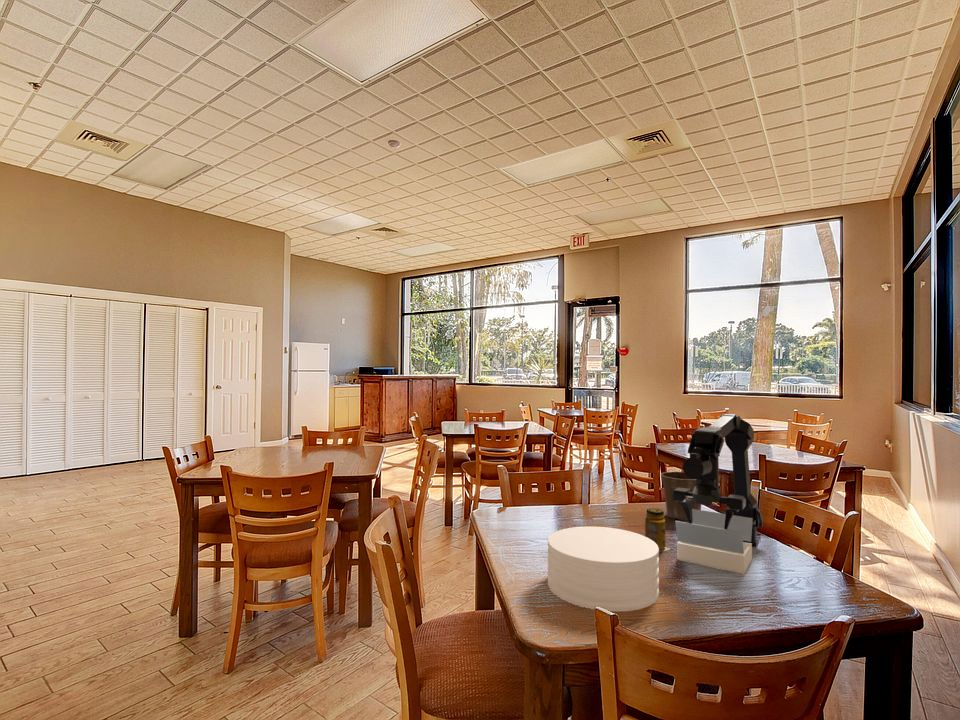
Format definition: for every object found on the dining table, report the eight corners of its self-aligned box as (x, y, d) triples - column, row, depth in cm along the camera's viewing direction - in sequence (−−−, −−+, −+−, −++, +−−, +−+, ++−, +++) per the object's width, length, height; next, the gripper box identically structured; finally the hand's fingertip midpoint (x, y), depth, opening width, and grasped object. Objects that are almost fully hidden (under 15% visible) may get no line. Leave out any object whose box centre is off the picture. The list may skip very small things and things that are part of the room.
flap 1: (743, 553, 141) (743, 553, 141) (678, 540, 152) (677, 541, 151) (741, 531, 139) (741, 532, 139) (675, 520, 150) (675, 521, 149)
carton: (688, 547, 162) (688, 532, 162) (751, 560, 151) (751, 543, 151) (677, 559, 151) (677, 542, 151) (744, 574, 141) (744, 556, 141)
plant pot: (652, 512, 204) (652, 471, 204) (689, 510, 207) (689, 470, 207) (675, 524, 188) (675, 480, 188) (714, 521, 191) (714, 478, 191)
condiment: (671, 549, 161) (671, 511, 161) (654, 554, 156) (653, 515, 156) (652, 542, 167) (652, 505, 167) (634, 547, 162) (634, 509, 162)
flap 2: (688, 530, 161) (688, 530, 162) (750, 541, 151) (750, 541, 151) (691, 508, 164) (691, 509, 165) (752, 518, 154) (752, 518, 154)
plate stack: (683, 596, 127) (683, 549, 127) (598, 622, 113) (598, 570, 114) (604, 560, 151) (604, 521, 152) (526, 578, 138) (526, 535, 138)
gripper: (665, 474, 144) (666, 529, 144) (738, 483, 133) (739, 542, 133) (676, 468, 153) (677, 520, 153) (745, 475, 142) (746, 531, 142)
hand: (708, 528), depth 145 cm, fingers open, 9 cm apart
